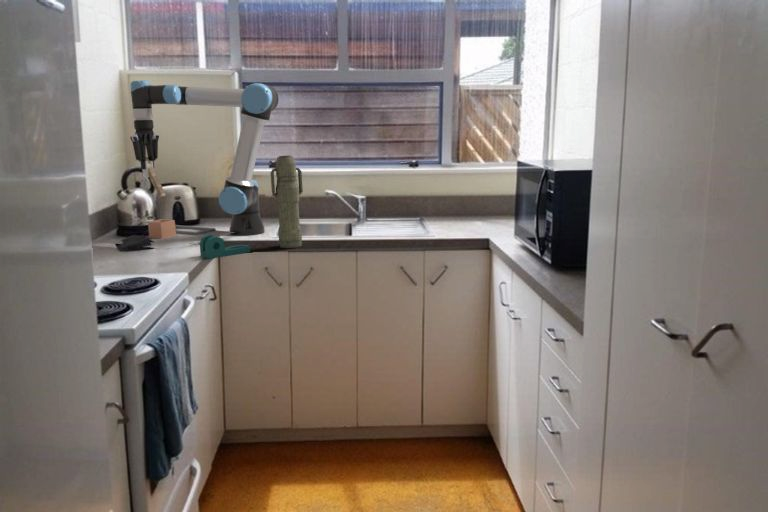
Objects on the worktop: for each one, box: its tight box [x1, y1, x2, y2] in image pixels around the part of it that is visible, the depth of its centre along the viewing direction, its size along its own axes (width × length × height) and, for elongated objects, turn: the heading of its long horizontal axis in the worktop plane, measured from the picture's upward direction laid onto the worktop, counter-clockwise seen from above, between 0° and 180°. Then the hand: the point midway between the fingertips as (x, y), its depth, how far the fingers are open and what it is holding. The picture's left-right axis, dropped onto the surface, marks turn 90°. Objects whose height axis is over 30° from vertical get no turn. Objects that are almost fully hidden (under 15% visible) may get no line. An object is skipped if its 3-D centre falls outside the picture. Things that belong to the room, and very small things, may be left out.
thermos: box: [270, 155, 304, 249], centre depth 267 cm, size 9×12×35 cm
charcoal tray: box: [175, 224, 216, 236], centre depth 304 cm, size 26×12×2 cm, turn 60°
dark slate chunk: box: [114, 234, 156, 253], centre depth 278 cm, size 15×22×5 cm
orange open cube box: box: [147, 218, 177, 239], centre depth 290 cm, size 8×8×8 cm
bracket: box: [199, 234, 251, 260], centre depth 257 cm, size 18×7×8 cm, turn 129°
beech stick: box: [146, 156, 166, 199], centre depth 287 cm, size 10×2×17 cm, turn 60°
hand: (148, 176), depth 289 cm, fingers closed on beech stick, 2 cm apart
